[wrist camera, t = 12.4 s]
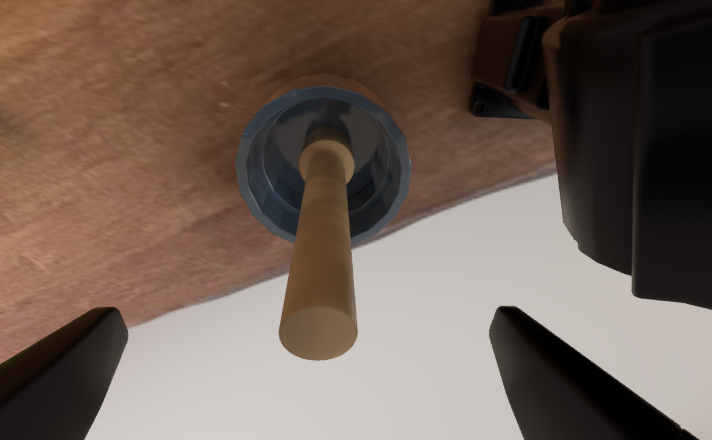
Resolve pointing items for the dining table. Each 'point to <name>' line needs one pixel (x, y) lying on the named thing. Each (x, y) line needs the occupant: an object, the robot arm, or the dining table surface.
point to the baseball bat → (322, 254)
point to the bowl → (284, 145)
